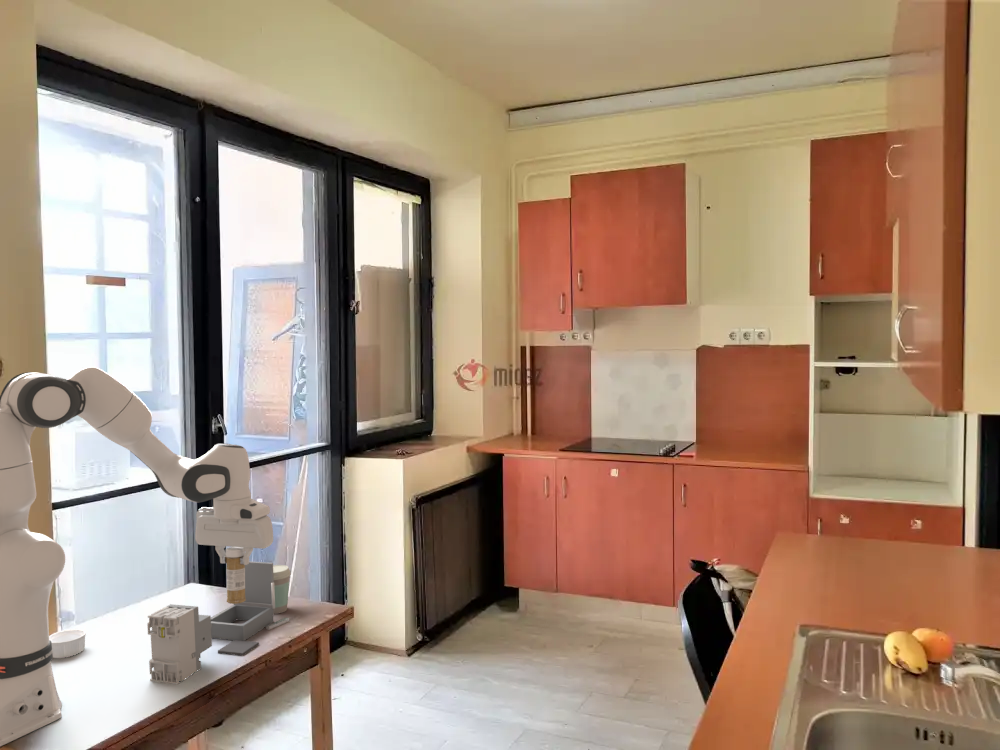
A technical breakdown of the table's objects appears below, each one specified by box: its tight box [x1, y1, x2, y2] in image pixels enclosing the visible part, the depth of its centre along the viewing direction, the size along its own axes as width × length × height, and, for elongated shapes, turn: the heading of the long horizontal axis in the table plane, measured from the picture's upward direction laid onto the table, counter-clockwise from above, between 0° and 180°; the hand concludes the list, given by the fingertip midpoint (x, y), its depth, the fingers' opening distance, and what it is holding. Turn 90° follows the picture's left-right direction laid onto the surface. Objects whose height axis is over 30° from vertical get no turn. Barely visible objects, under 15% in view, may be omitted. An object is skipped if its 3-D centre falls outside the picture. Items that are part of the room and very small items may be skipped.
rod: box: [265, 617, 290, 631], centre depth 214 cm, size 7×1×1 cm, turn 148°
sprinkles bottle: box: [225, 546, 246, 605], centre depth 198 cm, size 5×5×14 cm
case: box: [211, 560, 275, 641], centre depth 212 cm, size 15×13×16 cm
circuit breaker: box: [146, 603, 213, 685], centre depth 187 cm, size 8×14×15 cm, turn 164°
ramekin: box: [49, 628, 87, 659], centre depth 199 cm, size 9×9×4 cm
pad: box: [217, 640, 260, 656], centre depth 199 cm, size 7×7×1 cm
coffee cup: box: [273, 564, 292, 615], centre depth 225 cm, size 8×8×12 cm
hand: (234, 563), depth 197 cm, fingers closed on sprinkles bottle, 4 cm apart
